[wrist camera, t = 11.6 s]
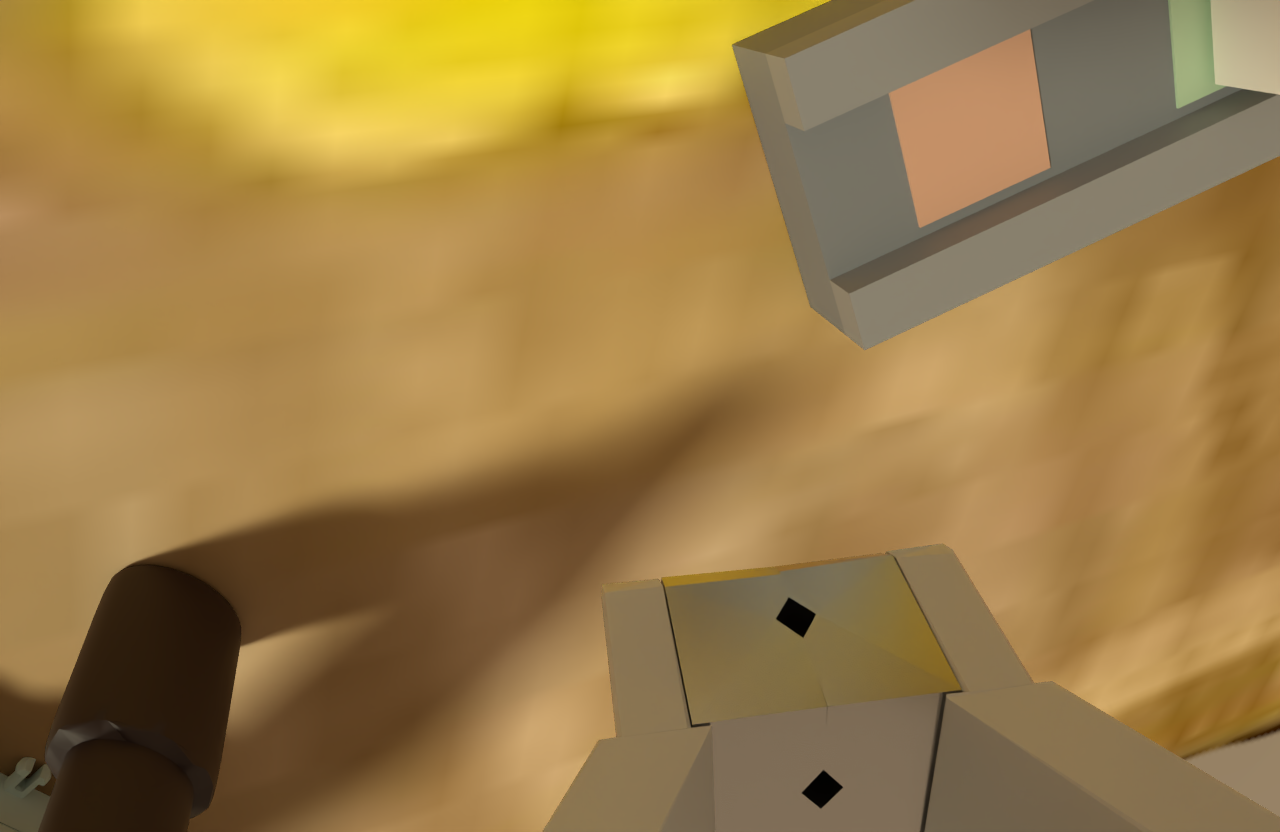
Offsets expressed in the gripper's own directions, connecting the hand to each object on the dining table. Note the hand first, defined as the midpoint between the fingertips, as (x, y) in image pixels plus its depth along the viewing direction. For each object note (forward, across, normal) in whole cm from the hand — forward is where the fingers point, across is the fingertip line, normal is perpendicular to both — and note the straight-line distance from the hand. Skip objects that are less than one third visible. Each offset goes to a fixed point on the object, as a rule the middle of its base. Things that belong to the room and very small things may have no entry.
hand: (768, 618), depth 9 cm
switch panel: (+28, -17, +2) cm, 33 cm away
